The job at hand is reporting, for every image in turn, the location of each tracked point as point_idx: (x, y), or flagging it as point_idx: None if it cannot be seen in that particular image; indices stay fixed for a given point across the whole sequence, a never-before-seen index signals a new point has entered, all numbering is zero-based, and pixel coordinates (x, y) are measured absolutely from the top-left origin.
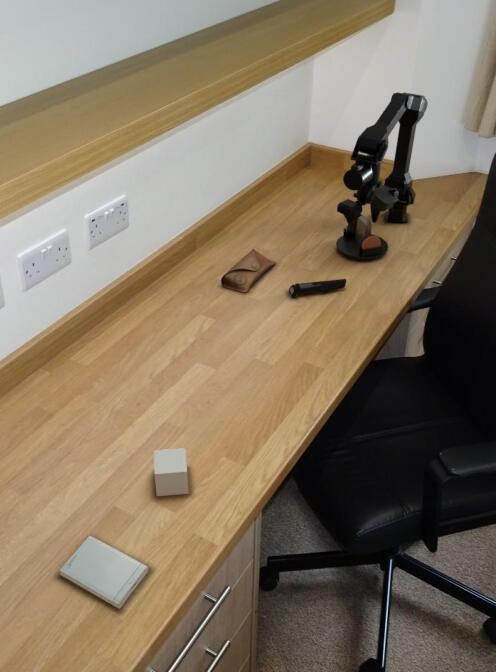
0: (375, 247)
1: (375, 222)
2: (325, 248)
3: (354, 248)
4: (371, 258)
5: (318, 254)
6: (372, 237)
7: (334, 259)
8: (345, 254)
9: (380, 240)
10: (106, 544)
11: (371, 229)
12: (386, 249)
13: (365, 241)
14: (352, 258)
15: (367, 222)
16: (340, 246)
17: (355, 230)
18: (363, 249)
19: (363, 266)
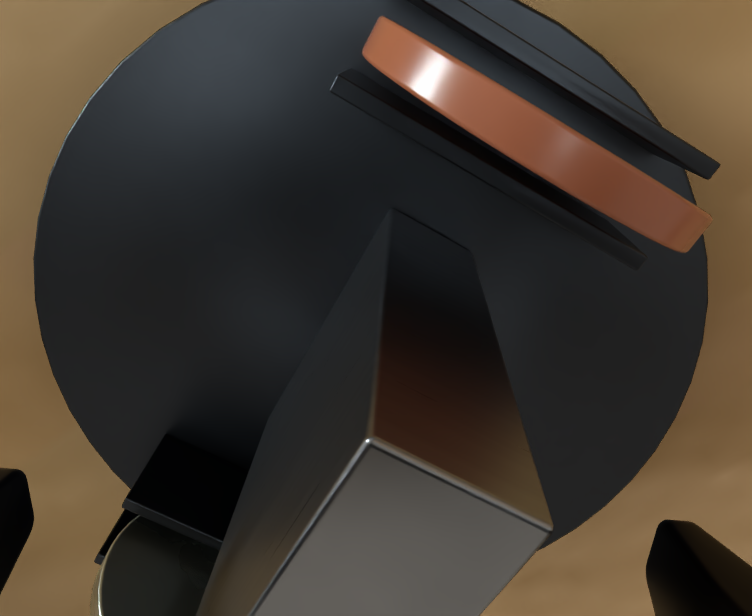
0: (500, 50)
1: (8, 469)
2: (586, 565)
3: (513, 351)
4: (574, 36)
5: (735, 550)
6: (592, 144)
7: (742, 396)
8: (694, 351)
9: (92, 236)
10: None
11: (377, 348)
12: (223, 10)
13: (704, 211)
14: None
15: (390, 567)
16: (574, 485)
17: (705, 555)
18: (701, 167)
19: (706, 52)
